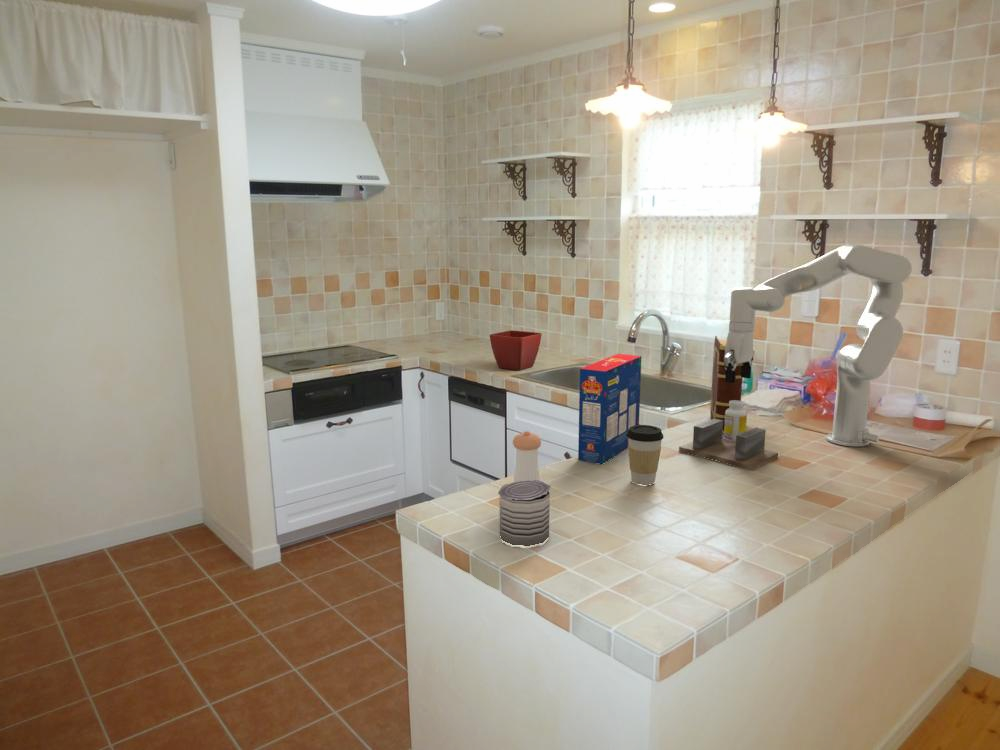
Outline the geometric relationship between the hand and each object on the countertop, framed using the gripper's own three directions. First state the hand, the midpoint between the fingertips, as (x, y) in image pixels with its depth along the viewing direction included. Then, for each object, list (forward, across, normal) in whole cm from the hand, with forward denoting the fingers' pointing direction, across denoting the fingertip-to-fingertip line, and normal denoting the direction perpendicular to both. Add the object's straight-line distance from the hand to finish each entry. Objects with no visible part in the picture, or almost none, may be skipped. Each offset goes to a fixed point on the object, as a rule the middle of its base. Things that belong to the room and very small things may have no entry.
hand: (737, 380), depth 225 cm
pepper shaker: (+20, +87, -9) cm, 90 cm away
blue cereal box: (+20, +37, -22) cm, 47 cm away
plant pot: (+20, -33, -135) cm, 140 cm away
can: (+20, +101, +4) cm, 103 cm away
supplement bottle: (+20, 0, 0) cm, 20 cm away
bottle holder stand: (+20, +15, +6) cm, 26 cm away
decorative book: (+20, -13, -11) cm, 26 cm away
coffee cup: (+20, +53, +2) cm, 57 cm away
